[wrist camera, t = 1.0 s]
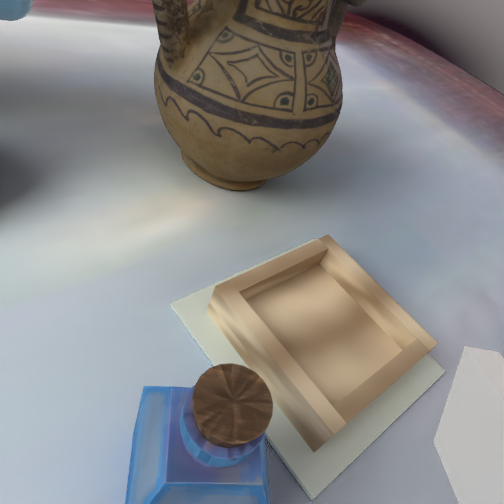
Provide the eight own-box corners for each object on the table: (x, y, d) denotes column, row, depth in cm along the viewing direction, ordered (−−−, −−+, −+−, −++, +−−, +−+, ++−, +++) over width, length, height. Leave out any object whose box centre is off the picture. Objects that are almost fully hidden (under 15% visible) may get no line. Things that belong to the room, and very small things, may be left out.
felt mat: (170, 305, 33) (171, 302, 33) (312, 240, 43) (314, 238, 42) (311, 500, 27) (313, 498, 26) (442, 373, 36) (445, 371, 36)
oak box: (206, 311, 33) (215, 286, 31) (314, 258, 40) (328, 234, 38) (313, 452, 28) (334, 434, 26) (415, 363, 35) (438, 343, 33)
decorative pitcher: (168, 243, 37) (247, -134, 20) (94, 121, 46) (102, -221, 28) (348, 198, 49) (498, -64, 31) (262, 107, 57) (343, -141, 39)
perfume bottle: (233, 436, 28) (299, 337, 20) (237, 552, 24) (322, 491, 16) (133, 431, 27) (157, 323, 18) (119, 555, 22) (141, 489, 14)
